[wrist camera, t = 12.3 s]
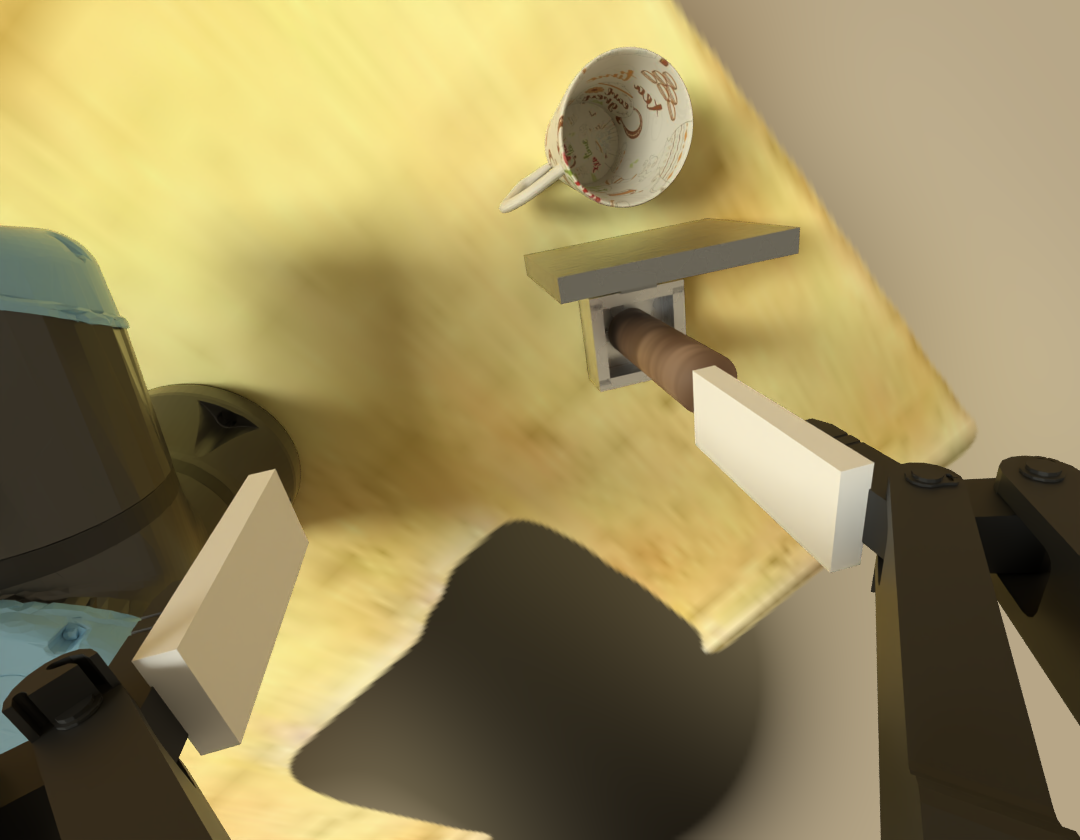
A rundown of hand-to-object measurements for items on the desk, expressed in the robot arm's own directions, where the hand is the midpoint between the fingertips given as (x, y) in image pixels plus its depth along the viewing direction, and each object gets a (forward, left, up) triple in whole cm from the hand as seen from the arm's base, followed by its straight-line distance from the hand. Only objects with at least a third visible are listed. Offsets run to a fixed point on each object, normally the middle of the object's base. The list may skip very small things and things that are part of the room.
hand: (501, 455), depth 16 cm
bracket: (+14, -4, -29) cm, 32 cm away
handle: (+14, -6, -28) cm, 32 cm away
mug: (+10, +8, -29) cm, 32 cm away
